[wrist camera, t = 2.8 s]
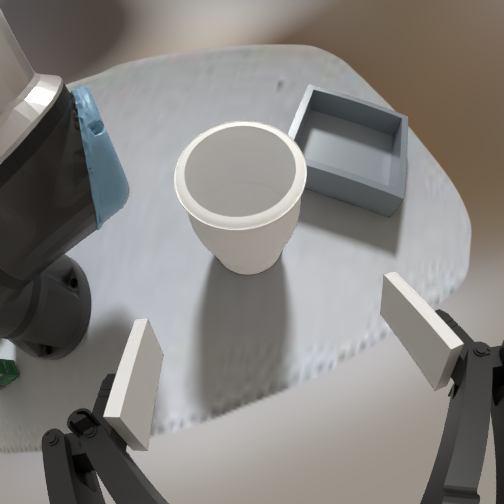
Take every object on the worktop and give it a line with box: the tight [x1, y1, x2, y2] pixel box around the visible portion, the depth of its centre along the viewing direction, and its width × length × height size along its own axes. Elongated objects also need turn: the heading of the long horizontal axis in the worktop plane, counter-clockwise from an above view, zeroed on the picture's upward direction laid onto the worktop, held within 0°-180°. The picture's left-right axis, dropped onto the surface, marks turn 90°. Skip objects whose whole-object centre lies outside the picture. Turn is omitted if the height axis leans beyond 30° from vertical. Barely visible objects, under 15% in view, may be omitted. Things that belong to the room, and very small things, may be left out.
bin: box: [288, 85, 408, 217], centre depth 38 cm, size 16×16×5 cm
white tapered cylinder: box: [174, 121, 307, 275], centre depth 29 cm, size 11×10×15 cm
